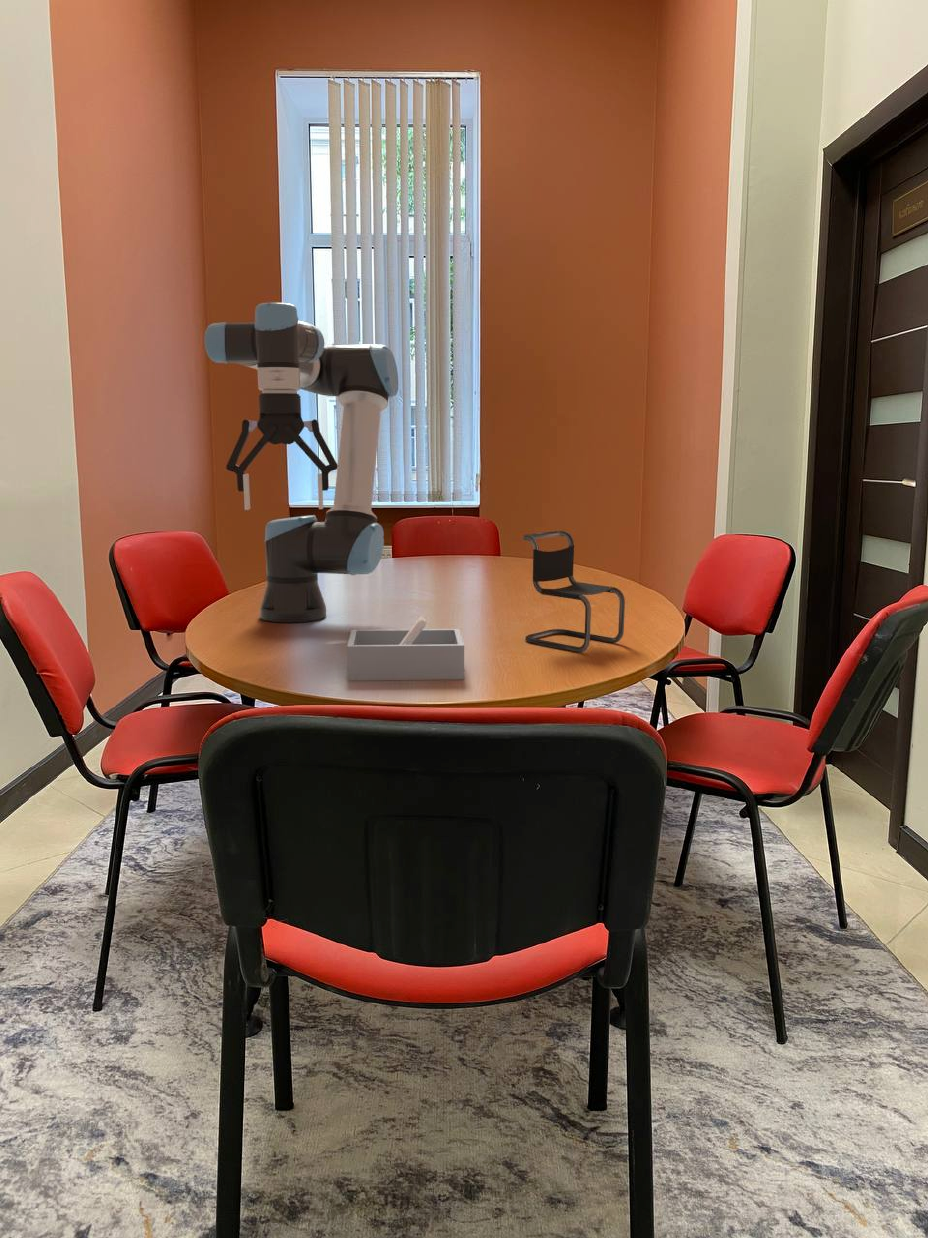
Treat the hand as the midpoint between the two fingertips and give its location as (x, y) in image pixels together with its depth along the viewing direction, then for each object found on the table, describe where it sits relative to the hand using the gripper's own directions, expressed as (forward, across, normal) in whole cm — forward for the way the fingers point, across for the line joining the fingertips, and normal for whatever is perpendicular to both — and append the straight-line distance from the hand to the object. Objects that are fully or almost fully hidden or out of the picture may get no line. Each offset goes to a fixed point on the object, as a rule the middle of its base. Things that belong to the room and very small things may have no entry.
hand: (284, 508), depth 170 cm
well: (+27, +22, -17) cm, 39 cm away
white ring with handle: (+28, +22, -17) cm, 39 cm away
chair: (+28, +57, +2) cm, 63 cm away
